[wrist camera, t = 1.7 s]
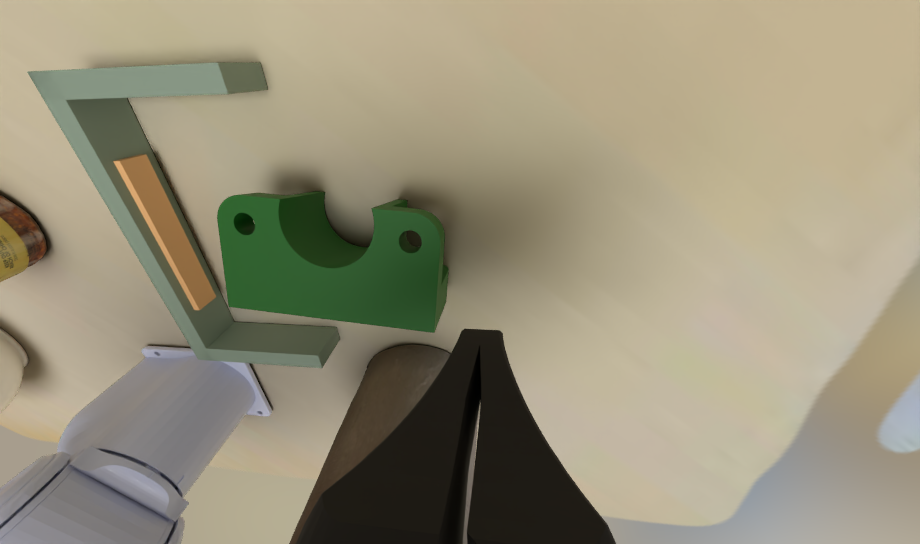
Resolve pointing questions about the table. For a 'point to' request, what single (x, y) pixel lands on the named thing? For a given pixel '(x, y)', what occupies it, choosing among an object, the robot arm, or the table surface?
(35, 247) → the sauce bottle
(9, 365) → the lidded bowl
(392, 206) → the clamp
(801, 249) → the table surface
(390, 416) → the pillar candle
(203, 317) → the bracket
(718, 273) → the table surface
